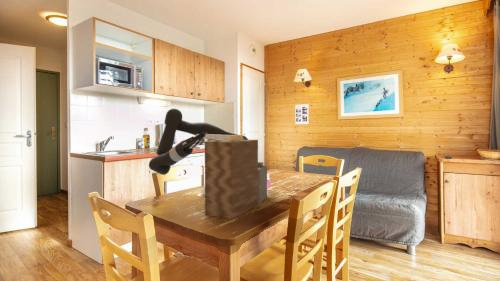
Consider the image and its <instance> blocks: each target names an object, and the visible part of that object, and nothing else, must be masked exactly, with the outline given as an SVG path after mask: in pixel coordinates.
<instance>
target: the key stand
mask: <svg viewBox="0 0 500 281" xmlns="http://www.w3.org/2000/svg"><path fill="white" fill-rule="evenodd" d="M247 139H248V137H247V138H243V140H234V141H232V140H222V139H214V140H208V139H206V140H207V141H206V140H205V141H204V188H205V195H204V206H205V207H204V214H205V215H206V216H207V215H208V216H211V217H212V216H213V217H218V218H223V219H229V220H234V219H236V218H238V217H239V216H242V215H243V214H244V213H246V212H248V211H249V210H252V209H253V208H254V207H256V206H258V205H259V204H258V162H259V139H248V140H247Z"/></svg>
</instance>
